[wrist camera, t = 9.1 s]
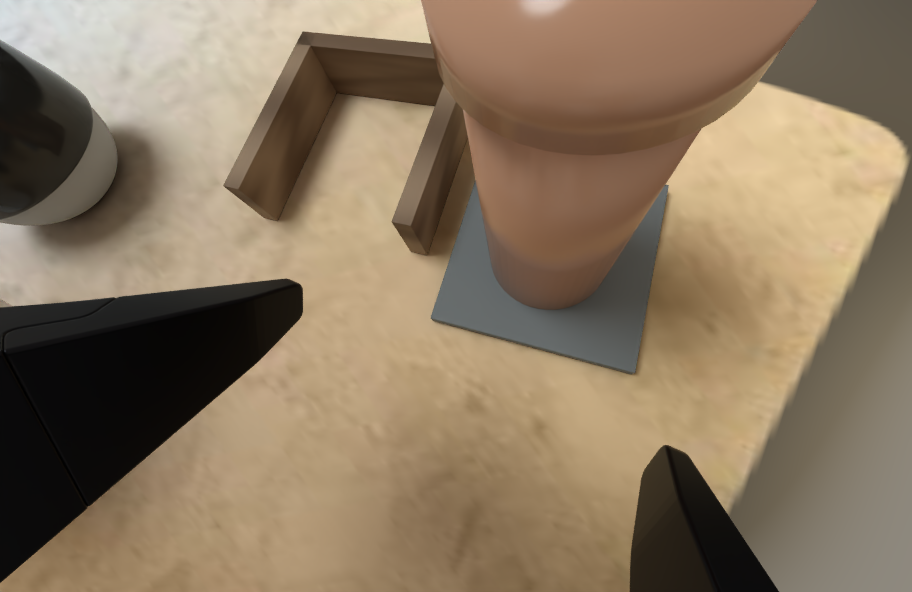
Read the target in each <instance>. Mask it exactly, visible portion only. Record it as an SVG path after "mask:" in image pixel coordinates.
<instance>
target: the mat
mask: <svg viewBox="0 0 912 592" xmlns="http://www.w3.org/2000/svg"><path fill="white" fill-rule="evenodd" d="M668 186H669V185H665V186H664V187H663V189H662V191H661V192H660V194H659V195H658V197H657V198H656V200H655V201H654V203H653V204H652V206H651V208H650V209H649V211H648V212H647V214H646V215H645V217H644V218H643V220H642V222H641V223H640V225H639V226H638V228H637V229H636V231H635V232H634V234H633V236H632V237H631V239H630V240H629V242H628V243H627V245H626V246H625V248H624V249H623V251H622V253H621V254H620V256H619V257H618V259H617V260H616V262H615V263H614V265H613V267H612V268H611V270H610V271H609V273H608V274H607V276H606V277H605V279H604V281H603V282H602V284H601V285H600V286H599V288H598V289H597V290H596V291H595V292H594V293H593V294H592V295H591V296H589V297H588V298H587V299H585V300H584V301H582V302H580V303H578V304H576V305H574V306H571V307H568V308H564V309H557V310H544V309H537V308H533V307H529V306H527V305H524V304H522V303H520V302H518V301H516V300H515V299H514V298H512V297H511V296H510V295H508V294H507V293H506V292H505V291H504V290H503V288H502V287H501V286H500V285H499V283H498V281H497V280H496V278H495V276H494V273H493V270H492V267H491V262H490V256H489V251H488V245H487V240H486V234H485V229H484V223H483V218H482V212H481V207H480V201H479V196H478V190H477V185H476V180H475V183H474V186H473V190H472V193H471V196H470V199H469V202H468V205H467V208H466V211H465V214H464V217H463V220H462V223H461V226H460V229H459V232H458V236H457V239H456V242H455V245H454V248H453V251H452V254H451V257H450V260H449V263H448V266H447V269H446V272H445V275H444V278H443V282H442V285H441V288H440V291H439V294H438V297H437V300H436V303H435V306H434V309H433V312H432V315H431V319H432V320H433V321H436V322H440V323H443V324H447V325H451V326H455V327H458V328H462V329H466V330H469V331H473V332H477V333H480V334H484V335H488V336H492V337H495V338H499V339H503V340H506V341H510V342H514V343H517V344H521V345H525V346H529V347H532V348H536V349H540V350H543V351H547V352H551V353H554V354H558V355H562V356H566V357H569V358H573V359H577V360H580V361H584V362H588V363H591V364H595V365H599V366H603V367H606V368H610V369H614V370H617V371H621V372H625V373H628V374H633V373H635V370H636V365H637V359H638V354H639V348H640V342H641V337H642V331H643V326H644V320H645V314H646V309H647V303H648V298H649V292H650V287H651V281H652V275H653V270H654V264H655V259H656V253H657V247H658V242H659V236H660V231H661V225H662V220H663V214H664V208H665V203H666V197H667V192H668Z"/></svg>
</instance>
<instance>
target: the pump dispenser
mask: <svg viewBox="0 0 912 592" xmlns="http://www.w3.org/2000/svg"><path fill="white" fill-rule="evenodd" d="M117 162H118V157H117V149H116V145H115V142H114V139H113V137H112V134H111V132H110V131H109V129H108V127H107V126H106V124H105V123H104V121H103V120H102V119H101V117H100V116H99V115H98V114H97V113H96V111H95V110H94V109H93V108H92V107H91V105H90V103H89V101H88V99H87V98H86V96H85V95H84V94H83V93H82V92H81V91H80V90H78V89H77V88H76V87H74V86H73V85H72V84H70V83H69V82H68V81H66V80H65V79H64V78H62V77H61V76H59V75H58V74H56V73H55V72H53V71H51V70H50V69H48V68H47V67H45V66H43V65H42V64H40V63H39V62H37V61H35V60H34V59H32V58H30V57H29V56H27V55H25V54H24V53H22V52H20V51H19V50H17V49H15V48H14V47H12V46H10V45H8V44H7V43H5V42H3V41H2V40H0V222H1V223H6V224H14V225H47V224H53V223H58V222H62V221H65V220H68V219H71V218H73V217H76V216H78V215H80V214H82V213H83V212H85V211H87V210H88V209H89V208H91V207H92V206H93V205H95V204H96V203H97V202H98V201H99V200H100V199H101V198H102V197H103V196H104V194H105V193H106V192H107V190H108V189H109V187H110V186H111V184H112V182H113V179H114V177H115V174H116V170H117Z"/></svg>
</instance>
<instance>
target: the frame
mask: <svg viewBox="0 0 912 592" xmlns="http://www.w3.org/2000/svg"><path fill="white" fill-rule="evenodd" d="M336 93H343V94H350V95H358V96H365V97H373V98H380V99H388V100H395V101H403V102H410V103H418V104H425V105H433V106H435V108H434V111H433V114H432V116H431V119H430V121H429V124H428V127H427V129H426V132H425V135H424V137H423V140H422V143H421V145H420V148H419V151H418V153H417V156H416V159H415V161H414V164H413V166H412V169H411V172H410V174H409V177H408V180H407V182H406V185H405V188H404V190H403V193H402V196H401V198H400V201H399V204H398V206H397V209H396V211H395V214H394V217H393V219H392V223H393V225H394V226H395V228H396V229H397V231H398V232H399V234H400V236H401V237H402V239H403V240H404V242H405V243H406V245H407V246H408V248H409V249H410V251H411V252H415V253H420V254H424V255H427V254H428V251H429V248H430V245H431V242H432V240H433V237H434V234H435V231H436V228H437V225H438V222H439V219H440V216H441V213H442V210H443V208H444V205H445V202H446V199H447V196H448V193H449V190H450V187H451V184H452V181H453V178H454V175H455V173H456V170H457V167H458V164H459V161H460V158H461V155H462V152H463V149H464V146H465V143H466V141H467V138H468V135H467V129H466V124H465V118H464V113H463V109H462V108H461V107H460V106H459V104H458V103H457V102H456V101H455V100H454V99H453V97H452V96H451V94H450V93H449V91H448V90H447V89H446V87H445V85H444V83H443V81H442V79H441V76H440V74H439V72H438V68H437V65H436V61H435V57H434V53H433V49H432V45H431V44H428V43H417V42H407V41H396V40H386V39H375V38H364V37H354V36H343V35H333V34H322V33H312V32H302V34H301V36H300V38H299V40H298V42H297V44H296V45H295V47H294V49H293V51H292V53H291V55H290V57H289V59H288V61H287V63H286V65H285V67H284V69H283V71H282V73H281V75H280V76H279V78H278V80H277V82H276V84H275V86H274V88H273V90H272V92H271V94H270V96H269V98H268V100H267V102H266V104H265V106H264V108H263V109H262V111H261V113H260V115H259V117H258V119H257V121H256V123H255V125H254V127H253V129H252V131H251V133H250V135H249V137H248V139H247V141H246V142H245V144H244V146H243V148H242V150H241V152H240V154H239V156H238V158H237V160H236V162H235V164H234V166H233V168H232V170H231V172H230V174H229V175H228V177H227V179H226V181H225V183H224V185H223V186H224V187H225V188H227V189H228V190H229V191H230V192H232V193H233V194H234V195H236V196H237V197H238V198H239V199H241V200H242V201H243V202H244V203H246V204H247V205H248V206H250V207H251V208H252V209H253V210H255V211H256V212H257V213H259V214H260V215H261V216H262V217H264V218H267V219H272V220H276V221H278V218H279V216H280V214H281V212H282V210H283V208H284V205H285V203H286V201H287V199H288V197H289V195H290V192H291V190H292V188H293V186H294V184H295V182H296V179H297V177H298V175H299V173H300V171H301V169H302V166H303V164H304V162H305V160H306V158H307V156H308V153H309V151H310V149H311V147H312V145H313V143H314V140H315V138H316V136H317V134H318V132H319V130H320V127H321V125H322V123H323V121H324V119H325V117H326V114H327V112H328V110H329V108H330V106H331V104H332V102H333V99H334V97H335V95H336Z"/></svg>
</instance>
